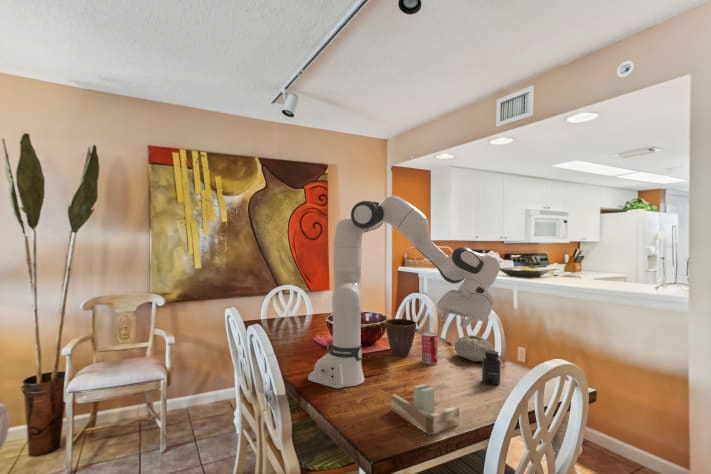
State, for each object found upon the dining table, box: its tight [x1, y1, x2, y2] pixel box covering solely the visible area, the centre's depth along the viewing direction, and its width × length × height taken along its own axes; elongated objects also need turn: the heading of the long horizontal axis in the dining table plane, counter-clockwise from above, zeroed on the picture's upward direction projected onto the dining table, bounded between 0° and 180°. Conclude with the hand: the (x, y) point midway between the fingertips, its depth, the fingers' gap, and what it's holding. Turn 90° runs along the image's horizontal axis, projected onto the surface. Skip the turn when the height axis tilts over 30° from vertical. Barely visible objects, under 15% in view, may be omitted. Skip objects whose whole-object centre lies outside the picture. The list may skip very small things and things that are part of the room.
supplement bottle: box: [481, 350, 502, 386], centre depth 146 cm, size 7×7×12 cm
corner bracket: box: [390, 393, 460, 436], centre depth 117 cm, size 12×18×5 cm, turn 32°
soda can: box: [421, 332, 439, 366], centre depth 168 cm, size 7×7×13 cm
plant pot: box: [385, 318, 417, 358], centre depth 179 cm, size 15×15×16 cm
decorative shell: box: [454, 334, 495, 362], centre depth 174 cm, size 18×18×10 cm
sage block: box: [413, 383, 435, 414], centre depth 117 cm, size 4×4×9 cm
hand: (451, 324), depth 127 cm, fingers open, 8 cm apart
